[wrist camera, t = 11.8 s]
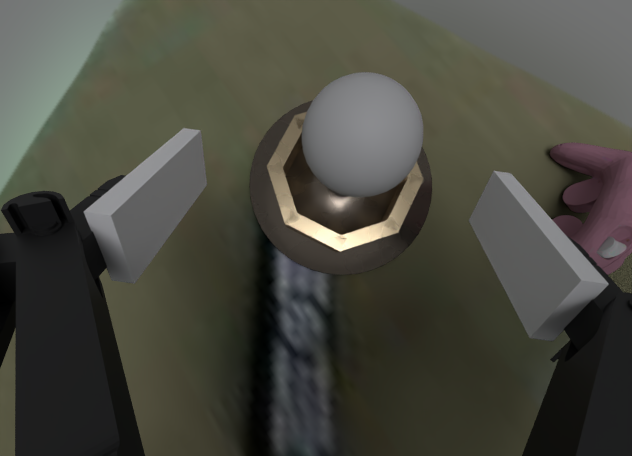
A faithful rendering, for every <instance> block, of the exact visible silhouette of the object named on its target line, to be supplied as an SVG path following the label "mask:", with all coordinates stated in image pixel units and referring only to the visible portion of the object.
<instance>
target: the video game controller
mask: <svg viewBox="0 0 632 456" xmlns="http://www.w3.org/2000/svg"><path fill="white" fill-rule="evenodd" d="M550 156H551V157H552V158H553V159H554V160H555V161H556V162H557V163H559V164H561V165H563V166H564V167H567V168H569V169H572V170H574V171H577V172H580V173H583V174H586V175H589V176H592V177H593V178H591V179H588V180H585V181H582V182H579V183H575V184H573V185H571V186H569V187H568V188H567V189H566V190H565V192H564V194H563V200H564V202H565V203H566V205H567V206H568V207H569V209H570V210H571V211H573V212H576V213H585V212H590V213H589V215H588V217H587V219H586V221H585V222H584V224H583V223H582V222H581V221H580V220H579V219H578V218H576V217H574V216H570V215H562V216H558V217H556V218H554V219H552V220H553V221H554V223H555V224H556V225H557V226H558V227H559V228H560V229H561V231H562V232H563V233H564V234H565V235H567V236H568V237H570V238H571V239H572V240H574V241H575V242H577V243H578V244H579V245H581V246H582V248H583V249H584V250H585V251H586V252H587V253H588V254H589V255H590V256H589V257H592V259H593V260H594V261H595V262H596V263H597V266H600V267H601V268H602V270H603V271H604V272H605V273H606V274H607V275H608V274H610V273H612V272H614V271H616V270H617V269H618V268H619V267H620V266H621V265H622V264H623V262H624V260H625V258H626V257H627V256H628V255H629V254H631V253H632V152H629V151H623V150H617V149H611V148H605V147H599V146H594V145H588V144H582V143H564V144H559V145H557V146H554V147H553V148H552V149H551V151H550Z"/></svg>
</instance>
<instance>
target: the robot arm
mask: <svg viewBox="0 0 632 456" xmlns="http://www.w3.org/2000/svg"><path fill="white" fill-rule="evenodd" d="M206 185H207V181H206V172H205V163H204V155H203V146H202V137H201V131H200V130H193V129H186V128H183V129H182V130H181V131H180V132H179V133H177V134H176V135H175V136H174V137H172V138H171V139H170V140H169V141H168V142H166V143H165V144H164V145H163V146H162V147H160V148H159V149H158V150H157V151H156V152H154V153H153V154H152V155H151V156H150V157H148V158H147V159H146V160H145V161H144V162H142V163H141V164H140V165H139V166H138V167H136V168H135V169H134V170H133V171H132V172H130V173H129V174H128V175H127V176H124V175H120V176H118V177H116V178H113V179H111V180H109V181H107V182H106V183H104V184H103V185H102V186H100V187H99V188H98V190H95V191H94V192H93V193H92V194H90V197H89V196H88V197H87V198H85V199H84V200H83V201H81V202H80V203H79V204H78V205H76V206H75V207H74V208H73V209H71V210H70V211H69V208H68V206H67V204H66V202H65V199H64V198H63V196H62V195H61V194H59V193H56V192H51V191H39V192H31V193H28V194H24V195H20V196H18V197H16V198H13V199H11V200H10V201H8V202H7V203H6V204H4V205H3V207H2V209H1V211H2V213H3V215H4V216H5V218H6V219H7V221H8V223H9V224H10V226H11V228H12V229H13V231H14V233H5V234H0V367H1V365H2V362H3V359H4V357H5V354H6V351H7V349H8V346H9V343H10V341H11V338H12V336H13V333H14V330H15V328H16V398H15V456H145V454H144V450H143V446H142V442H141V438H140V434H139V430H138V426H137V422H136V418H135V414H134V410H133V406H132V402H131V398H130V394H129V390H128V386H127V382H126V378H125V374H124V370H123V366H122V362H121V358H120V354H119V350H118V346H117V342H116V338H115V334H114V330H113V326H112V322H111V318H110V314H109V310H108V306H107V302H106V298H105V294H104V290H103V286H102V283H101V281H100V278H99V275H100V274H101V273H102V272H103V271H104V270H105V269H106V268H107V270H108V273H109V275H110V277H111V280H113V281H120V282H127V283H135V282H136V281H137V280H138V278H139V277H140V276H141V274H142V273H143V272H144V270H145V269H146V267H147V266H148V265H149V263H150V262H151V261H152V259H153V258H154V256H155V255H156V254H157V252H158V251H159V250H160V248H161V247H162V246H163V244H164V243H165V241H166V240H167V239H168V237H169V236H170V235H171V233H172V232H173V230H174V229H175V228H176V226H177V225H178V224H179V222H180V221H181V220H182V218H183V217H184V215H185V214H186V213H187V211H188V210H189V209H190V207H191V206H192V205H193V203H194V202H195V200H196V199H197V198H198V196H199V195H200V194H201V192H202V191H203V189H204V188H205V187H206ZM469 222H470V224H471V226H472V228H473V230H474V232H475V234H476V236H477V238H478V240H479V241H480V243H481V245H482V247H483V249H484V251H485V253H486V255H487V257H488V259H489V261H490V263H491V265H492V266H493V268H494V270H495V272H496V274H497V276H498V278H499V280H500V282H501V284H502V286H503V288H504V290H505V291H506V293H507V295H508V297H509V299H510V301H511V303H512V305H513V307H514V309H515V311H516V313H517V315H518V316H519V318H520V320H521V322H522V324H523V326H524V328H525V330H526V332H527V334H528V336H529V338H533V339H540V340H548V341H554V340H555V338H556V337H557V336H558V335H559V334H560V333H561V332H562V331H563V330H565V332H566V333H567V335H568V336H569V338H570V341H569V342H568V343H567V344H566V345H565V346H564V347H563V348H562V349H561V350H560V351H558V352H557V353H556V354H555V355H554V356H553V357H552V358H551V359H550V360H551V361H553V362H555V361H556V360H557V359H559V360H558V363H557V365H556V368H555V371H554V373H553V376H552V378H551V381H550V384H549V386H548V389H547V392H546V394H545V397H544V399H543V402H542V405H541V407H540V410H539V413H538V415H537V418H536V420H535V423H534V426H533V428H532V431H531V434H530V436H529V439H528V441H527V444H526V447H525V449H524V452H523V455H522V456H632V294H631V293H626V292H625V293H623V292H622V290H621V289H620V288H619V287H618V286H617V285H616V284H615V283H614V282H613V281H612V279H611V278H610V277H609V276H608V275H607V274H606V273H605V272H604V271H603V270H602V268H601V267H600V266H597V263H596V262H595V261H594V260H593V259H592V257H589V256H590V255H589V254H588V253H587V252H586V251H585V250H584V249H583V248H582V246H581V245H579V244H578V243H577V242H575V241H574V240H572V239H571V238H570V237H568V236H567V235H565V234H564V233H563V232H562V231H561V229H560V228H559V227H558V226H557V225H556V224H555V223H554V221H553V220H552V219H551V218H550V217H549V216H548V215H547V214H546V212H545V211H544V210H543V209H542V208H541V207H540V206H539V205H538V203H537V202H536V201H535V200H534V199H533V198H532V197H531V196H530V194H529V193H528V192H527V191H526V190H525V189H524V188H523V186H522V185H521V184H520V183H519V182H518V181H517V180H516V179H515V177H514V176H513V175H512V174H511V173H505V172H498V171H493V173H492V175H491V177H490V179H489V181H488V183H487V185H486V187H485V189H484V191H483V193H482V195H481V197H480V199H479V201H478V203H477V205H476V207H475V209H474V211H473V213H472V215H471V217H470V219H469Z"/></svg>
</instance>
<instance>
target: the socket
mask: <svg viewBox="0 0 632 456" xmlns="http://www.w3.org/2000/svg"><path fill="white" fill-rule="evenodd" d="M312 101H313V100H312ZM312 101H310V102H307V103H304V104H302V105H300V106H298V107H296V108H294V109H292V110H291V111H289V112H288V113H286V114H285V115H283V116H282V117H281V118H280V119H279V120H278V121H277V122H276V123H274V125H273V126H272V127H271V128H270V129H269V130H268V132H267V133H266V134H265V136H264V138H263V139H262V141H261V142H260V144H259V146H258V149H257V151H256V153H255V156H254V159H253V162H252V167H251V173H250V194H251V201H252V205H253V210H254V212H255V215H256V218H257V220H258V222H259V224H260V226H261V228H262V230H263V231H264V233H265V234H266V236H267V237H268V238H269V240H270V241H271V242H272V243H273V244H274V245H275V246H276V247H277V248H278V249H279V250H280V251H281V252H282V253H283V254H285V255H286V256H287V257H288V258H290V259H291V260H293V261H295V262H296V263H298V264H300V265H302V266H304V267H307V268H309V269H312V270H315V271H319V272H322V273H328V274H338V275H348V274H357V273H362V272H366V271H370V270H373V269H375V268H378V267H380V266H383V265H384V264H386V263H388V262H390V261H391V260H393V259H394V258H396V257H397V256H398V255H400V254H401V253H402V252H403V251H404V250H405V249H406V248H407V247H408V246H409V245H410V244H411V243H412V242H413V240H414V239H415V238H416V236H417V235H418V234H419V232H420V230H421V228H422V226H423V224H424V222H425V220H426V217H427V214H428V211H429V207H430V203H431V195H432V178H431V172H430V166H429V163H428V160H427V157H426V154H425V152H424V150H423V148H422V147H421V152H420V154H419V157H418V159H417V161H416V164H415V166H414V167H413V169H412V170H411V171H410V173H409V174H408V175H407V177H406V178H405V179H404V180H402V181H401V182H400V183H399V184H398V185H397V186H396V187H394V188H392V189H390V190H388V191H387V192H384V193H381V194H378V195H375V196H370V197H361V198H360V197H349V196H348V197H342V196H339V195H337V194H335V193H334V192H333V191H332V190H331V189H329V188H328V187H326V186H325V185H324V184H323V183H321V182H320V180H319V179H318V178H317V177H316V176H315V175H314V174H313V172H312V171H311V169H310V167H309V165H308V164H307V162H306V159H305V156H304V153H303V146H302V127H303V123H304V119H305V116H306V113H307V111H308V109H309V107H310V105H311V103H312Z"/></svg>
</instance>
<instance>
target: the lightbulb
mask: <svg viewBox="0 0 632 456" xmlns="http://www.w3.org/2000/svg"><path fill="white" fill-rule="evenodd" d="M422 143H423V122H422V116H421V113H420V111H419V108H418V106H417V104H416V102H415V101H414V99H413V98H412V96H411V95H410V93H409V92H408V91H407V90H406V89H405V88H404V87H403V86H402V85H400V84H399V83H398V82H396V81H395V80H393V79H391V78H389V77H387V76H384V75H380V74H377V73H368V72H362V73H354V74H350V75H347V76H343V77H340V78H338V79H337V80H335V81H333V82H331V83H330V84H328V85H327V86H326V87H325V88H323V89H322V91H321V92H320V93H319V94H318V95H317V96H316V98H315V99H314V100H313V101H312V103H311V105H310V107H309V109H308V111H307V113H306V116H305V119H304V123H303V127H302V146H303V153H304V156H305V159H306V162H307V164H308V165H309V167H310V169H311V171H312V172H313V174H314V175H315V176H316V177H317V178H318V179H319V180H320V182H321V183H323V184H324V185H325V186H326V187H328V188H329V189H331V190H332V191H333V192H334V193H335V194H337V195H339V196H342V197H348V196H349V197H360V198H361V197H370V196H375V195H378V194H381V193H384V192H387V191H388V190H390V189H392V188H394V187H396V186H397V185H398V184H399V183H400V182H401V181H402V180H404V179H405V178H406V177H407V175H408V174H409V173H410V171H411V170H412V169H413V167H414V166H415V164H416V161H417V159H418V157H419V154H420V152H421V147H422Z"/></svg>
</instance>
